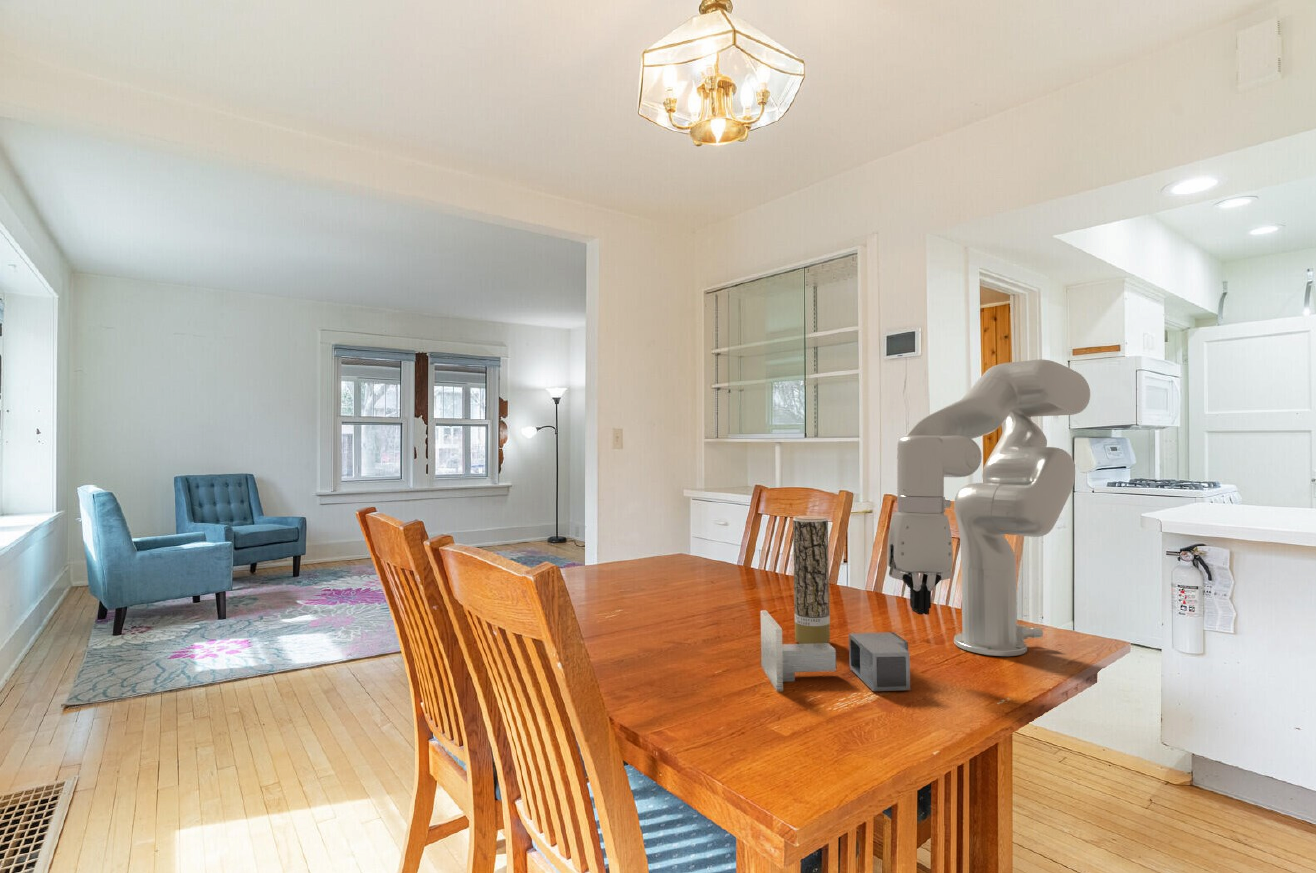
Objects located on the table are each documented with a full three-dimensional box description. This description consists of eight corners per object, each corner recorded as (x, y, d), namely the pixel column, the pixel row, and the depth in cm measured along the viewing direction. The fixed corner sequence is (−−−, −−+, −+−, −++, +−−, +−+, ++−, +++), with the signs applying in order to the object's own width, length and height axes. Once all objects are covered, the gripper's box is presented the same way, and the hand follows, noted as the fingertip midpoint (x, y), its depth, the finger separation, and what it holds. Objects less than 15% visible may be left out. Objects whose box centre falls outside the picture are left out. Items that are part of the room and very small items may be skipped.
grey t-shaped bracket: (823, 664, 118) (822, 608, 118) (845, 689, 106) (844, 627, 106) (761, 666, 117) (760, 610, 117) (776, 691, 105) (775, 629, 105)
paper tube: (831, 648, 127) (828, 519, 127) (795, 646, 128) (793, 519, 129) (829, 638, 133) (826, 515, 134) (795, 636, 135) (792, 515, 135)
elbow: (894, 666, 115) (893, 632, 115) (923, 690, 104) (922, 652, 104) (849, 667, 115) (848, 633, 115) (873, 691, 104) (872, 653, 104)
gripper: (951, 505, 118) (951, 607, 117) (870, 504, 117) (870, 607, 117) (973, 508, 110) (974, 618, 110) (886, 507, 110) (886, 618, 109)
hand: (920, 612), depth 113 cm, fingers closed
